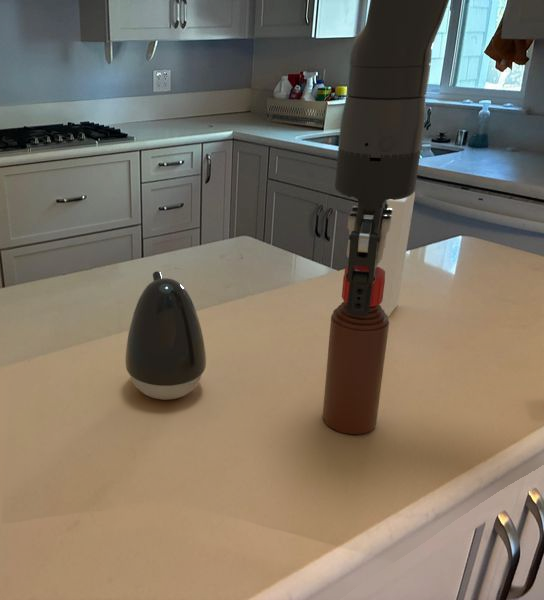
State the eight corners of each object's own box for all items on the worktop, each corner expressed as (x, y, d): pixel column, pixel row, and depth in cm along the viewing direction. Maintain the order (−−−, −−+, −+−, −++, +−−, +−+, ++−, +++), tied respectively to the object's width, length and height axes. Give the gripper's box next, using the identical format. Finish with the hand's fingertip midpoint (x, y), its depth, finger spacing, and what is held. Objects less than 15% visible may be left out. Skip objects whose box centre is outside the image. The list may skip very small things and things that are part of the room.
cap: (344, 290, 68) (346, 262, 67) (383, 294, 67) (386, 266, 66) (339, 304, 65) (342, 275, 64) (380, 309, 64) (384, 279, 62)
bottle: (378, 410, 73) (396, 269, 66) (374, 438, 68) (393, 289, 61) (326, 401, 76) (338, 264, 69) (319, 428, 71) (331, 283, 64)
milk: (361, 298, 104) (378, 168, 96) (398, 305, 101) (419, 171, 92) (349, 310, 100) (365, 175, 91) (388, 319, 97) (408, 179, 88)
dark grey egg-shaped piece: (194, 364, 85) (195, 261, 79) (214, 405, 76) (217, 292, 69) (121, 372, 84) (116, 267, 77) (133, 415, 74) (128, 300, 68)
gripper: (347, 132, 67) (332, 278, 74) (328, 156, 55) (313, 328, 62) (422, 134, 64) (399, 286, 71) (420, 160, 52) (393, 340, 59)
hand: (359, 305), depth 66 cm, fingers closed on cap, 4 cm apart
